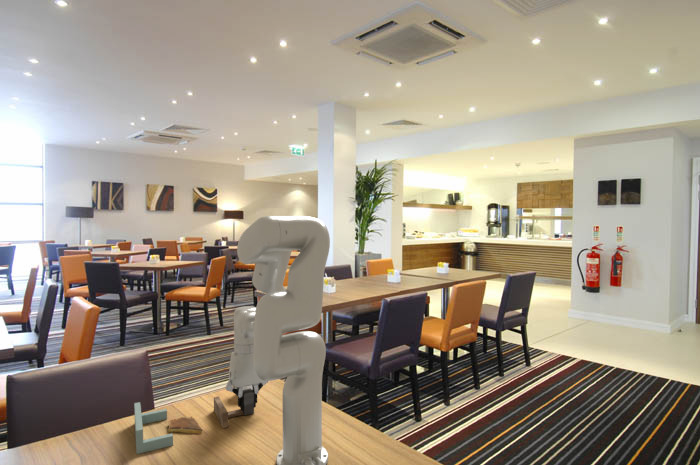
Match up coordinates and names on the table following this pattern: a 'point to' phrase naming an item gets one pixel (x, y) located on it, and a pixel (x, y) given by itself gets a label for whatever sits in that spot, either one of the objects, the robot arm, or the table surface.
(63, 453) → the table surface
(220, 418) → the wall doorstop
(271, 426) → the table surface
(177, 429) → the shard
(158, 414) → the bracket
